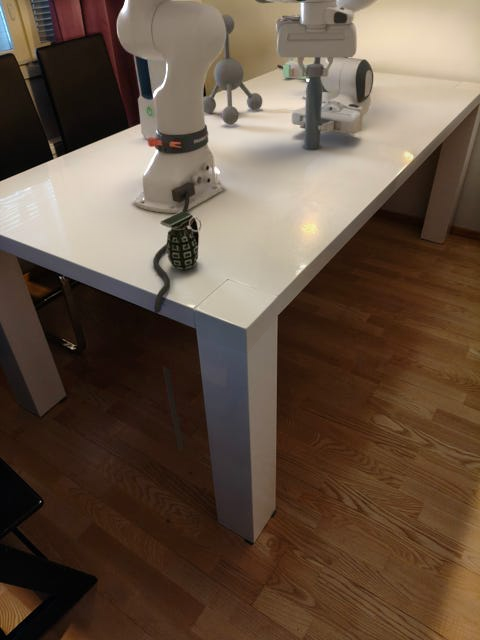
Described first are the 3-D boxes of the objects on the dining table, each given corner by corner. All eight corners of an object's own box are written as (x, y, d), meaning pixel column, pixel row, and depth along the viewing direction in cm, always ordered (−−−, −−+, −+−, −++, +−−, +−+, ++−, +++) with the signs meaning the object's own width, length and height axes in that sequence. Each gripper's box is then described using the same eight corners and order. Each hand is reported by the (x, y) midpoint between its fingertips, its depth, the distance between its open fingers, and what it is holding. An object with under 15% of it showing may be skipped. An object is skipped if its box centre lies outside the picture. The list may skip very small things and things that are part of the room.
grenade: (182, 278, 88) (175, 228, 82) (162, 268, 91) (153, 219, 85) (208, 263, 92) (203, 214, 85) (187, 253, 95) (181, 205, 89)
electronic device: (141, 137, 154) (123, 28, 136) (159, 131, 158) (144, 24, 140) (166, 145, 147) (151, 30, 129) (185, 138, 151) (172, 26, 133)
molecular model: (282, 115, 166) (282, 11, 148) (228, 129, 157) (221, 20, 138) (243, 102, 182) (239, 7, 163) (192, 114, 173) (181, 15, 154)
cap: (309, 73, 131) (309, 63, 129) (325, 73, 129) (325, 64, 128) (304, 76, 127) (304, 67, 126) (320, 77, 126) (321, 67, 125)
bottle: (322, 148, 139) (326, 69, 126) (308, 150, 138) (311, 72, 125) (314, 143, 142) (318, 66, 130) (301, 146, 141) (303, 69, 128)
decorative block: (304, 51, 222) (344, 54, 212) (304, 67, 226) (343, 70, 216) (274, 62, 206) (316, 65, 196) (274, 78, 210) (315, 83, 200)
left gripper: (273, 17, 120) (274, 78, 128) (358, 15, 115) (352, 79, 124) (278, 14, 125) (278, 73, 133) (360, 12, 120) (354, 73, 128)
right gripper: (306, 99, 148) (280, 110, 139) (368, 107, 137) (344, 120, 129) (305, 120, 151) (280, 132, 143) (365, 130, 141) (342, 144, 133)
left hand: (315, 76), depth 128 cm, fingers closed on cap, 4 cm apart
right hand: (311, 127), depth 136 cm, fingers closed on bottle, 4 cm apart
